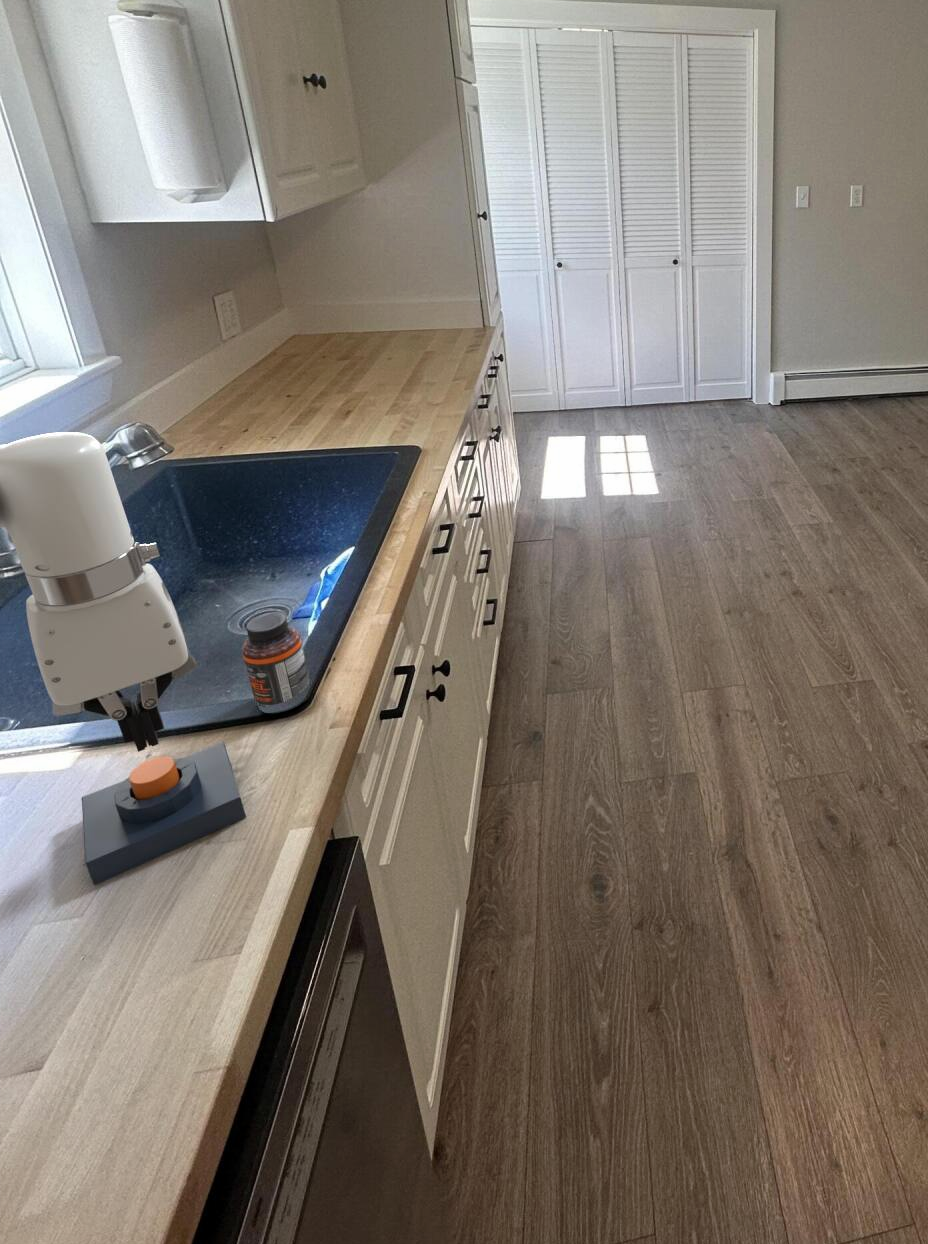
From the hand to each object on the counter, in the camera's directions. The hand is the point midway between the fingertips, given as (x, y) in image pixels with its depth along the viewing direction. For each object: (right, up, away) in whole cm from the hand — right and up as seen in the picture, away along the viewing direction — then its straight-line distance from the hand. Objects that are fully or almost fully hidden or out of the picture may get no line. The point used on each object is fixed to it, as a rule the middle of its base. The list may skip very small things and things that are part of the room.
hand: (147, 739), depth 75 cm
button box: (0, -9, +3) cm, 10 cm away
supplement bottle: (+2, -3, +20) cm, 20 cm away
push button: (0, -5, +2) cm, 5 cm away
